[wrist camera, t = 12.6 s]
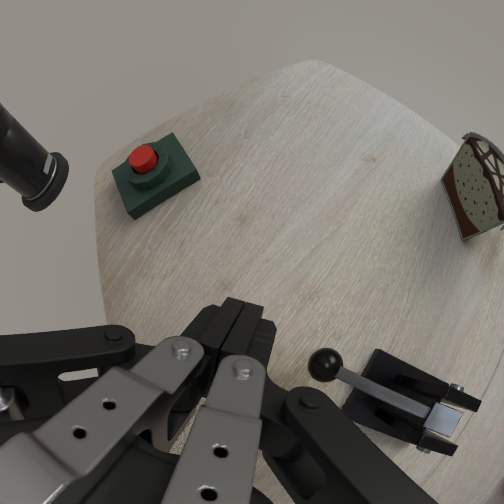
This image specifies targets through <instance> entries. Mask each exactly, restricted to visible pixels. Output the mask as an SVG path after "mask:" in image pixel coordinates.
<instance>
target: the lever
mask: <svg viewBox="0 0 504 504" xmlns="http://www.w3.org/2000/svg"><path fill="white" fill-rule="evenodd" d="M308 371H309V373H310V375H311V376H312V378H314V379H315V380H317V381H319V382H330V381H333V380H335V379H336V378H337V379H339V380H341V381H343V382H345V383H347V384H349V385H351V386H353V387H355V388H357V389H359V390H361V391H363V392H365V393H367V394H369V395H371V396H373V397H376V398H378V399H380V400H382V401H384V402H386V403H388V404H390V405H393V406H395V407H397V408H399V409H401V410H404V411H406V412H408V413H410V414H413V415H415V416H417V417H420V418H422V419H423V421H422V422H421V425H422V426H423V427H425V428H427V429H429V430H432V431H434V432H437V433H439V434H442V435H444V436H447V437H450V436H451V435H452V433H453V431H454V429H455V428H456V426H457V424H458V422H459V420H460V418H461V416H462V414H463V412H461V411H458V410H456V409H453V408H451V407H448V406H446V405H443V404H441V403H438V402H432V404H431V406H430V407H429V406H426V405H424V404H422V403H419V402H417V401H415V400H412V399H410V398H408V397H406V396H403V395H401V394H399V393H397V392H394V391H392V390H390V389H388V388H386V387H383V386H381V385H379V384H377V383H375V382H373V381H371V380H368V379H366V378H364V377H362V376H360V375H358V374H356V373H354V372H352V371H350V370H348V369H346V368H344V367H343V360H342V357H341V355H340V354H339V353H338V352H337V351H336V350H334V349H331V348H322V349H319V350H317V351H316V352H314V353H313V354H312V355H311V357H310V359H309V361H308Z"/></svg>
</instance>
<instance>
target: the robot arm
mask: <svg viewBox="0 0 504 504" xmlns="http://www.w3.org/2000/svg"><path fill="white" fill-rule="evenodd" d="M57 171H58V161H57V159H56V158H55V157H54V156H52V155H51V154H50V153H49V152H48V151H46V149H45V148H43V146H42V145H40V144H39V143H38V142H37V141H36V140H35V139H34V138H33V137H32V136H31V135H30V134H29V133H28V132H27V130H25V128H24V127H23V126H22V125H20V123H19V122H18V121H17V120H16V119H15V118H14V117H13V116H12V115H11V114H10V113H9V112H8V111H7V110H6V109H5V108H4V107H3V106H2V104H1V103H0V179H1V180H0V183H4V182H5V183H6V184H8V185H9V186H10V187H12V188H13V189H14V190H16V191H17V192H18V193H20V194H21V195H23V196H24V197H25V198H26V199H27V200H29V201H35V200H37V199H39V198H40V197H42V196H43V195H44V194H45V193H46V192H47V190H48V189H49V188H50V186H51V185H52V183H53V181H54V179H55V177H56V174H57ZM263 309H264V307H263V306H260V305H256V304H252V303H249V302H246V304H245V301H241V300H238V299H234V298H231V297H227V299H226V300H225V301H224V303H223V304H222V306H221V307H220V306H216V305H213V304H212V305H210V306H207V307H205V308H203V309H202V310H201V311H200V312H199V314H198V316H196V317H195V318H194V320H193V321H192V322H191V323H190V324H189V326H188V327H187V328H186V329H185V330H184V332H183V333H182V334H181V335H180V336H172V337H168V338H166V339H164V340H163V341H161V342H160V343H159V344H158V345H157V346H149V345H144V344H138V343H135V335H134V333H133V332H132V331H131V330H130V329H128V328H126V327H124V326H120V325H104V326H96V327H87V328H79V329H70V330H60V331H50V332H39V333H28V334H14V335H0V504H273V503H272V502H271V500H270V499H268V498H267V497H266V496H265V495H264V494H263V493H262V492H260V491H259V490H258V489H256V488H255V487H253V480H254V474H255V467H256V461H257V455H258V449H260V450H262V455H263V457H264V459H265V461H266V462H267V464H268V465H269V467H270V468H271V470H272V471H273V473H274V474H275V476H276V477H277V479H278V480H279V482H280V483H281V484H282V486H283V487H284V489H285V490H286V491H287V493H288V494H289V496H290V497H291V498H292V500H293V501H294V502H295V504H438V503H437V502H436V501H435V500H434V499H433V498H432V497H430V496H429V495H428V494H427V493H426V492H425V491H424V490H423V489H422V488H420V487H419V486H418V485H417V484H416V483H415V482H414V481H413V480H412V479H411V478H410V477H409V476H407V475H406V474H405V473H404V472H403V471H402V470H401V469H400V468H399V467H398V466H397V465H396V464H395V463H394V462H393V461H392V460H391V459H389V458H388V457H387V456H386V455H385V454H384V453H383V452H382V451H381V450H380V449H379V448H378V447H377V446H376V445H375V444H374V443H373V442H372V441H371V440H370V439H369V438H368V437H367V436H366V435H365V434H364V433H363V432H362V431H361V430H360V429H359V428H358V427H357V426H356V425H355V424H354V423H353V422H352V421H351V420H350V419H349V418H348V417H347V416H346V415H345V414H344V413H343V412H342V411H341V409H340V408H339V407H338V406H337V405H336V404H335V403H334V402H333V401H332V400H331V399H330V398H329V397H328V396H327V395H326V394H325V393H323V392H322V391H320V390H318V389H315V388H312V387H304V386H303V387H296V388H293V389H291V390H290V391H286V390H284V389H282V388H281V387H279V386H277V385H276V384H275V383H273V382H272V381H271V379H270V378H269V376H268V374H267V366H268V362H269V358H270V354H271V350H272V347H273V343H274V339H275V335H276V331H277V329H276V326H275V324H274V322H273V321H269V320H266V319H262V314H263ZM92 368H97V371H98V377H92V378H86V379H80V380H73V381H62V380H60V379H59V378H58V376H59V375H60V374H62V373H65V372H72V371H80V370H86V369H92ZM201 397H205V398H206V401H205V404H204V405H201V406H200V408H199V410H198V412H197V415H196V417H195V420H194V422H193V425H192V427H191V430H190V432H189V435H188V438H187V440H186V443H185V445H184V448H183V450H182V453H181V455H176V454H171V453H169V452H170V449H171V448H172V446H173V444H174V443H175V442H176V440H177V439H178V437H179V436H180V434H181V433H182V431H183V430H184V428H185V427H186V425H187V424H188V422H189V421H190V419H191V418H192V417H193V415H194V414H195V412H196V406H197V404H198V403H199V401H200V399H201Z"/></svg>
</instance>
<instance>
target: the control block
mask: <svg viewBox="0 0 504 504" xmlns="http://www.w3.org/2000/svg"><path fill="white" fill-rule="evenodd" d="M143 145H148V146H150V147H151V148H152V149H153V151H154V153H155V154H156V156H157V164H156V166H155V167H154V168H153V169H152V170H151V171H150V172H148V173H145V174H139V173H137V172H136V171H135V169H134V168H133V167H132V166H131V164H130V163H129V157H130V156H129V157H128V158H127V159H126V161H125V162H124V163H122V164H121V165H119V166H118V167H117V168H115V169H114V170H112V174H113V176H114V179H115V182H116V185H117V187H118V190H119V193H120V195H121V198H122V200H123V203H124V206H125V208H126V211H127V213H128V214H129V215H130V216H131V217H133V218H134V219H137V218H138V217H140V216H141V215H143V214H144V213H146V212H147V211H149V210H151V209H152V208H154V207H155V206H157V205H158V204H160V203H161V202H163V201H165V200H166V199H168V198H169V197H171V196H173V195H174V194H176V193H177V192H179V191H181V190H182V189H184V188H186V187H187V186H189V185H191V184H192V183H194V182H196V181H197V180H199V179H201V178H200V176H199V174H198V172H197V169H196V168H195V166H194V165H193V163H192V162H191V160H190V159H189V157H188V155H187V154H186V152H185V151H184V149H183V148H182V146H181V144H180V143H179V141H178V140H177V138H176V137H175V135H174V134H173V132H172V133H171V134H169V135H167V136H165V137H164V138H162V139H160V140H159V141H157V142H153V143H147V144H143ZM143 145H141V146H143ZM130 155H131V154H130Z"/></svg>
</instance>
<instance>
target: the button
mask: <svg viewBox="0 0 504 504" xmlns="http://www.w3.org/2000/svg"><path fill="white" fill-rule="evenodd" d="M129 163H130V164H131V166H132V167H133V168H134V169H135V171H136V172H137V173H139V174H145V173H148V172H150V171H151V170H152V169H153V168H154V167H155V166H156V164H157V156H156V154H155V153H154V151H153V149H152V148H151V147H150V146H148V145H143V146H140V147H138V148H136V149H135V150H134V151H133V152H132V153H131V155H130V157H129Z"/></svg>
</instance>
